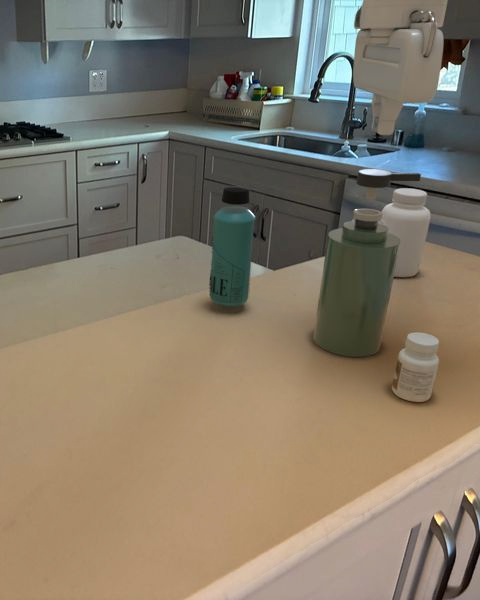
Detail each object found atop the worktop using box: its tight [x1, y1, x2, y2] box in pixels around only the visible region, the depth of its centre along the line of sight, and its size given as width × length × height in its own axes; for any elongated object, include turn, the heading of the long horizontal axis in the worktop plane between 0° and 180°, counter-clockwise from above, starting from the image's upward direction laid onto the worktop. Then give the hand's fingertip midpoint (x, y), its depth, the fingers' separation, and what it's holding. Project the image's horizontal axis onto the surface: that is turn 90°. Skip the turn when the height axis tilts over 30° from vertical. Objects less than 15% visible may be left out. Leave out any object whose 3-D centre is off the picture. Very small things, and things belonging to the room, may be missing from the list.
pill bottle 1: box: [381, 187, 432, 278], centre depth 111 cm, size 8×8×15 cm
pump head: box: [355, 168, 422, 201], centre depth 80 cm, size 8×4×4 cm, turn 82°
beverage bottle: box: [208, 185, 256, 307], centre depth 98 cm, size 6×7×20 cm
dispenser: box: [312, 208, 401, 358], centre depth 86 cm, size 9×9×20 cm
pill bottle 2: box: [391, 331, 440, 403], centre depth 75 cm, size 4×4×8 cm
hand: (381, 133), depth 77 cm, fingers closed
